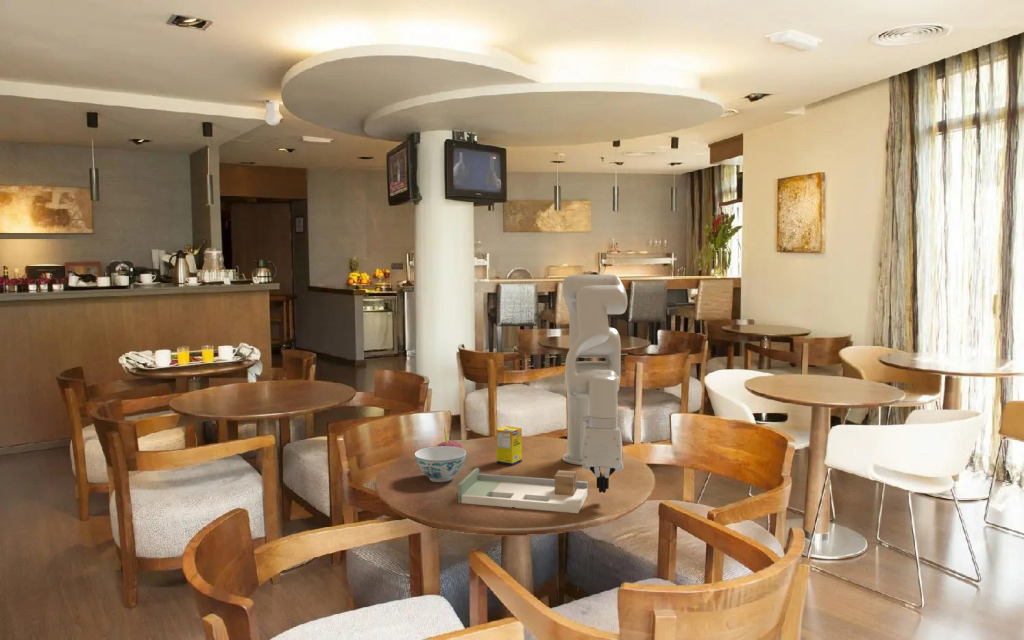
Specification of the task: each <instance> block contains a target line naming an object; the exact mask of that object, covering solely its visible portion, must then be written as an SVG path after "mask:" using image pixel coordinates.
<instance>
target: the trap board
mask: <svg viewBox="0 0 1024 640" xmlns="http://www.w3.org/2000/svg"><path fill="white" fill-rule="evenodd" d="M588 493H589V482H588V481H583V480H577V490H576V492H575V494H574V496H569V495H557V494H555V478H545V477H531V476H530V477H529V476H528V477H527V476H517V475H516V476H515V475H503V474H492V473H491V474H489V473H480V468H478V467H475V468H474V469H473V470H472V471H470V472H469V474H467V475H466V476H465V477H464V478H463V479H462V480H461V481H460V482H459V483H458V484H457V503H458V504H466V505H467V504H468V505H478V506H479V505H481V506H489V507H490V506H492V507H502V508H512V507H515V508H514V509H523V510H535V511H536V510H538V511H547V512H549V511H550V512H557V513H558V512H559V513H568V514H569V513H570V514H579V513H580V511H581V509H582V507H583V505H584V503H585V501H586V499H587V498H588V496H589V495H588Z"/></svg>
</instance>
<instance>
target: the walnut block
mask: <svg viewBox="0 0 1024 640" xmlns="http://www.w3.org/2000/svg"><path fill="white" fill-rule="evenodd" d="M577 473H578V472H577V471H574V470H573V471H572V470H571V471H570V470H560V469H559V470H557V472H556V473H555V475H554V479H555V494H557V495H569V496H574V494H575V492H576V490H577V481H578V474H577Z"/></svg>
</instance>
